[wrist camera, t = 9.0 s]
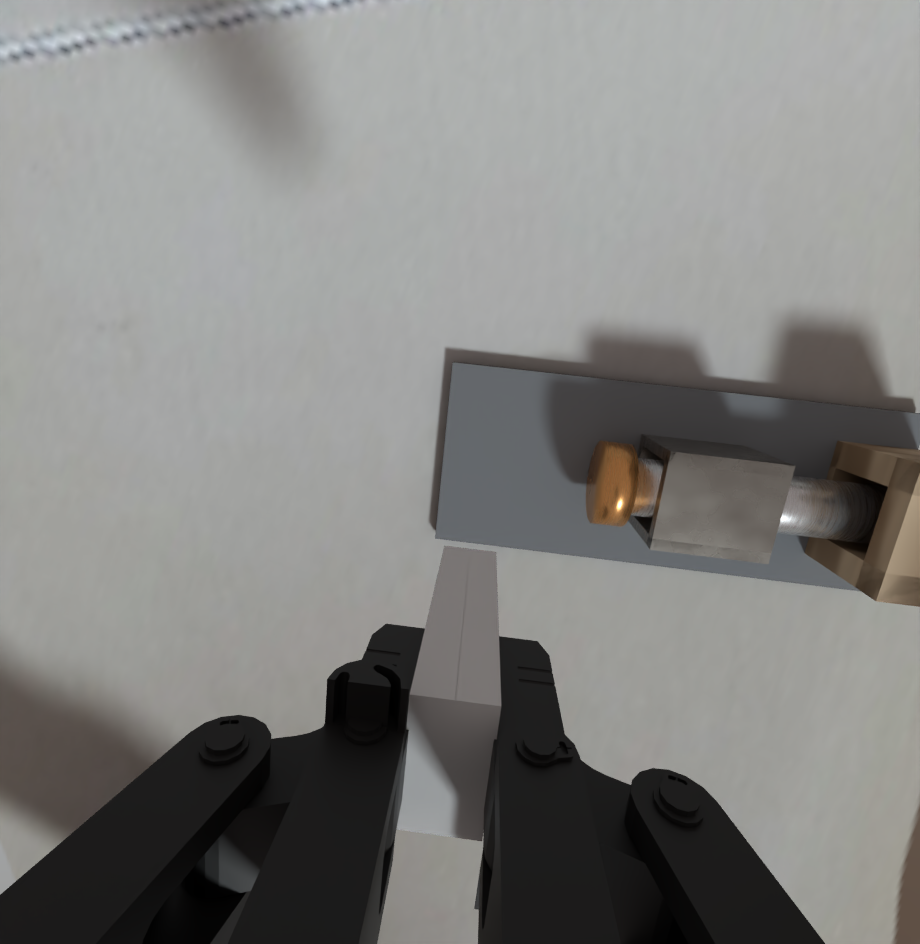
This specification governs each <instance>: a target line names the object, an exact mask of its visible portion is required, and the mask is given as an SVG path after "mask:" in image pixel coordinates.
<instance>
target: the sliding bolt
mask: <svg viewBox="0 0 920 944" xmlns="http://www.w3.org/2000/svg"><path fill="white" fill-rule="evenodd" d="M663 466H664V461H661V460H653V459H644V458H638V457H637V452H636V449H635V447H634V446H633V445H632V444H626V443H617V442H608V441H599V442H598V443H597V445H596V447H595V449H594V451H593V454H592V458H591V461H590V466H589V471H588V477H587V485H586V513H587V518H588V520H589V522H590V523H593V524H602V525H610V526H618V527H622V526H624V525H625V524H626V523H627V521H628V520H629V518H630V516H631V515H633V516H641V517H649V518H653V513H654V508H655V504H656V499H657V494H658V489H659V485H660V480H661V475H662V470H663ZM887 488H888V487H886V486H877V485H868V484H860V483H851V482H842V481H834V480H825V479H817V478H808V477H799V476H793V477H792V481H791V484H790V488H789V492H788V495H787V499H786V502H785V506H784V510H783V513H782V517H781V520H780V524H779V528H778V531H777V533H782V534H790V535H799V536H807V537H815V538H824V539H832V540H840V541H849V542H857V543H865V544H870V541H871V537H872V534H873V531H874V528H875V525H876V522H877V519H878V516H879V513H880V510H881V507H882V504H883V501H884V498H885V495H886V491H887Z"/></svg>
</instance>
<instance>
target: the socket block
mask: <svg viewBox="0 0 920 944" xmlns="http://www.w3.org/2000/svg"><path fill="white" fill-rule="evenodd" d="M826 480H834V481H842V482H851V483H860V484H868V485H877V486H886V487H888V488H887V491H886V495H885V498H884V501H883V504H882V507H881V510H880V513H879V516H878V519H877V522H876V525H875V528H874V531H873V534H872V537H871V541H870V544H865V543H857V542H849V541H840V540H832V539H824V538H815V537H809V539H808V543H807V546H806V550H805V554H806V555H808V556H809V557H811V558H812V559H814V560H815V561H817V562H818V563H820V564H821V565H823V566H824V567H826V568H827V569H829V570H830V571H832V572H833V573H835V574H836V575H838V576H839V577H841V578H842V579H844V580H845V581H847V582H848V583H850V584H851V585H853V586H854V587H856V588H857V589H859V590H860V591H862V592H863V593H865V594H866V595H868V596H869V597H871V598H872V599H874V600H875V601H878V602H886V603H894V604H902V605H911V606H919V607H920V450H916V449H907V448H898V447H889V446H881V445H872V444H863V443H854V442H845V441H837V444H836V448H835V451H834V454H833V458H832V461H831V465H830V468H829V471H828V475H827V478H826Z"/></svg>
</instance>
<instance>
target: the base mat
mask: <svg viewBox="0 0 920 944" xmlns="http://www.w3.org/2000/svg"><path fill="white" fill-rule="evenodd" d="M642 434H646V435H655V436H664V437H672V438H681V439H690V440H699V441H707V442H716V443H725V444H734V445H742V446H747V447H750V448H752V449H755V450H757V451H760V452H762V453H765V454H767V455H770V456H772V457H775V458H777V459H780V460H782V461H785V462H787V463H790V464H792V465H795V470H794V473H793V476H799V477H808V478H817V479H825V480H826V478H827V475H828V471H829V468H830V465H831V461H832V458H833V454H834V451H835V448H836V444H837V441H845V442H854V443H863V444H872V445H881V446H889V447H898V448H907V449H916V450H918V448H919V445H920V413H911V412H902V411H893V410H883V409H874V408H865V407H856V406H847V405H838V404H829V403H820V402H811V401H802V400H793V399H784V398H775V397H765V396H756V395H747V394H738V393H729V392H720V391H711V390H702V389H693V388H684V387H675V386H666V385H657V384H648V383H638V382H629V381H620V380H611V379H602V378H593V377H584V376H575V375H566V374H557V373H548V372H539V371H530V370H521V369H511V368H502V367H493V366H484V365H475V364H466V363H457V362H453V364H452V374H451V384H450V394H449V404H448V415H447V425H446V435H445V445H444V455H443V465H442V475H441V485H440V495H439V505H438V515H437V525H436V535H435V538H436V539H444V540H452V541H460V542H468V543H476V544H484V545H492V546H501V547H509V548H517V549H525V550H533V551H541V552H549V553H557V554H565V555H573V556H581V557H589V558H597V559H605V560H613V561H621V562H629V563H637V564H646V565H654V566H662V567H670V568H678V569H686V570H694V571H702V572H710V573H718V574H726V575H734V576H742V577H750V578H758V579H766V580H774V581H782V582H791V583H799V584H807V585H815V586H823V587H831V588H839V589H847V590H855V591H860V590H859V589H857V588H856V587H854V586H853V585H851V584H850V583H848V582H847V581H845V580H844V579H842V578H841V577H839V576H838V575H836V574H835V573H833V572H832V571H830V570H829V569H827V568H826V567H824V566H823V565H821V564H820V563H818V562H817V561H815V560H814V559H812V558H811V557H809V556H808V555H806V554H805V550H806V546H807V543H808V539H809V537H807V536H799V535H790V534H782V533H777V535H776V539H775V542H774V546H773V549H772V553H771V557H770V560H769V564H762V563H754V562H746V561H738V560H730V559H722V558H714V557H705V556H697V555H689V554H681V553H673V552H665V551H657V550H650V549H649V548H648V546H647V545H646V544H645V542H644V541H643V540H642V538H641V537H640V536H639V534H638V533H637V532H636V531H635V529H634V528H633V527H632V525H631V524H630V523H629V521H627V523H626V524H625V525H624V526H622V527H618V526H610V525H602V524H593V523H590V522H589V520H588V518H587V513H586V485H587V477H588V471H589V466H590V461H591V458H592V454H593V451H594V449H595V447H596V445H597V443H598V442H599V441H608V442H617V443H626V444H632V445H633V446H634V447H635V449H636V452H637V456H638V451H639V446H640V441H641V436H642Z"/></svg>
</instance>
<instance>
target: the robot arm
mask: <svg viewBox="0 0 920 944" xmlns="http://www.w3.org/2000/svg"><path fill="white" fill-rule="evenodd" d="M554 684H555V683H554V678H553V674H552V668H551V663H550V658H549V655H548V654H547V652H546V651H545V650H544V649H543V647H542V646H541V645H540V644H539V643H538V641H531V640H523V639H515V638H507V637H500V636H499V622H498V592H497V563H496V552H492V551H483V550H475V549H467V548H459V547H450V546H444V550H443V554H442V558H441V563H440V567H439V571H438V575H437V580H436V584H435V588H434V592H433V597H432V601H431V605H430V609H429V614H428V618H427V622H426V627H425V629H423V628H415V627H407V626H400V625H392V624H385V625H384V626H383V627H382V628H380V629H379V630H378V631H376V632H375V633H374V634H373V635H372V637H371V639H370V642H369V644H368V647H367V650H366V651H365V654H364V656H363V659H362V660H359V661H355V662H350V663H347V664H345V665H343V666H341V667H339V668H337V669H336V670H335V671H334V672H333V673H332V674H331V675H330V676H329V678H328V679H327V696H326V716H325V724H324V726H323V727H322V728H320V729H318V730H316V731H313V732H310V733H308V734H303V735H298V736H292V737H283V738H275V739H271V733H270V731H269V730H268V728H267V726H266V724H264V723H263V722H261V721H259V720H257V719H256V718H254V717H248V716H242V715H235V716H226V717H220V718H217V719H215V720H212V721H209V722H206V723H204V724H202V725H201V726H199V727H198V728H196V729H195V730H193V731H192V732H190V733H189V734H188V735H186V736H185V737H184V738H183V739H182V740H181V741H179V742H178V743H177V744H176V745H175V746H174V747H172V748H171V749H170V750H169V751H168V752H167V753H165V754H164V755H163V756H162V757H161V758H160V759H158V760H157V761H156V762H155V763H154V764H153V765H151V766H150V767H149V768H148V769H147V770H146V771H144V772H143V773H142V774H141V775H140V776H139V777H137V778H136V779H135V780H134V781H133V782H131V783H130V784H129V785H128V786H127V787H126V788H124V789H123V790H122V791H121V792H120V793H119V794H117V795H116V796H115V797H114V798H113V799H112V800H110V801H109V802H108V803H107V804H106V805H105V806H103V807H102V808H101V809H100V810H99V811H98V812H96V813H95V814H94V815H93V816H92V817H91V818H89V819H88V820H87V821H86V822H85V823H84V824H82V825H81V826H80V827H79V828H78V829H77V830H75V831H74V832H73V833H72V834H71V835H70V836H68V837H67V838H66V839H65V840H64V841H63V842H61V843H60V844H59V845H58V846H57V847H56V848H54V849H53V850H52V851H51V852H50V853H49V854H47V855H46V856H45V857H44V858H43V859H42V860H40V861H39V862H38V863H37V864H36V865H35V866H33V867H32V868H31V869H30V870H29V871H28V872H26V873H25V874H24V875H23V876H22V877H21V878H19V879H18V880H17V881H16V882H15V883H14V884H12V885H11V886H10V887H9V888H8V889H7V890H5V891H4V892H3V893H2V894H1V895H0V944H377V941H378V936H379V930H380V925H381V920H382V914H383V909H384V904H385V899H386V893H387V888H388V883H389V877H390V872H391V867H392V861H393V851H394V841H395V833H396V828H397V829H398V830H405V831H412V832H419V833H426V834H434V835H441V836H448V837H455V838H462V839H470V840H477V841H482V837H483V830H484V842H483V853H482V860H481V867H480V874H479V881H478V887H477V894H476V901H475V908H474V909H479V927H478V944H825V943H824V941H823V940H822V939H821V938H820V936H819V935H818V934H817V932H816V931H815V930H814V928H813V927H812V926H811V924H810V923H809V922H808V920H807V919H806V918H805V917H804V915H803V914H802V913H801V911H800V910H799V909H798V907H797V906H796V905H795V903H794V902H793V901H792V900H791V898H790V897H789V896H788V894H787V893H786V892H785V890H784V889H783V888H782V886H781V885H780V884H779V882H778V881H777V880H776V879H775V877H774V876H773V875H772V873H771V872H770V871H769V869H768V868H767V867H766V865H765V864H764V863H763V862H762V860H761V859H760V858H759V856H758V855H757V854H756V852H755V851H754V850H753V848H752V847H751V846H750V844H749V843H748V842H747V841H746V839H745V838H744V837H743V835H742V834H741V833H740V831H739V830H738V829H737V827H736V826H735V825H734V823H733V822H732V821H731V820H730V818H729V817H728V816H727V814H726V813H725V812H724V810H723V809H722V808H721V806H720V805H719V804H718V803H717V801H716V800H715V799H714V798H713V797H712V796H711V795H710V794H709V793H708V792H707V791H706V790H705V789H704V788H703V787H702V786H700V785H699V784H697V783H695V782H694V781H692V780H691V779H689V778H688V777H686V776H684V775H681V774H678V773H676V772H673V771H670V770H665V769H655V768H652V769H648V770H645V771H641V772H639V773H638V775H637V776H636V777H635V778H634V779H633V780H632V784H631V785H629V784H626V783H624V782H621V781H619V780H616V779H614V778H611V777H609V776H606V775H604V774H602V773H600V772H598V771H596V770H594V769H592V768H591V767H590V766H588V765H587V764H585V763H584V762H583V761H582V760H581V759H580V756H579V754H578V752H577V749H576V747H575V745H574V743H573V742H572V741H571V740H570V739H569V738H568V737H567V736H566V735H565V734H564V728H563V723H562V718H561V713H560V708H559V703H558V698H557V693H556V688H555V686H554Z"/></svg>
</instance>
